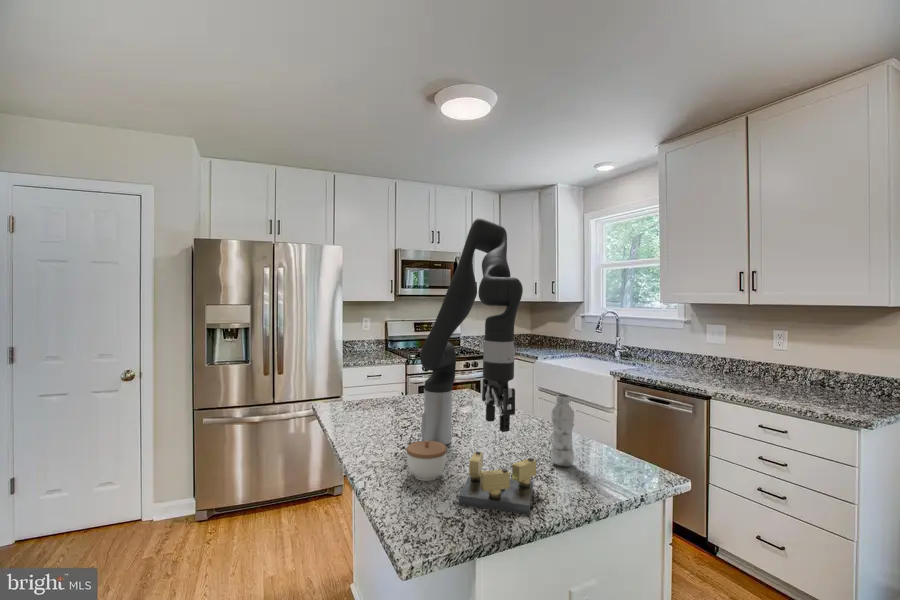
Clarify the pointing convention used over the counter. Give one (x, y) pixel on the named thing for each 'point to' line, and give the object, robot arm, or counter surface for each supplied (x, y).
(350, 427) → the counter surface
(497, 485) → the bar with square hole
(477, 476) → the knob
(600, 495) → the counter surface
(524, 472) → the knob
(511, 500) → the levelling plate
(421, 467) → the lidded jar
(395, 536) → the counter surface
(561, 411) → the plastic bottle
